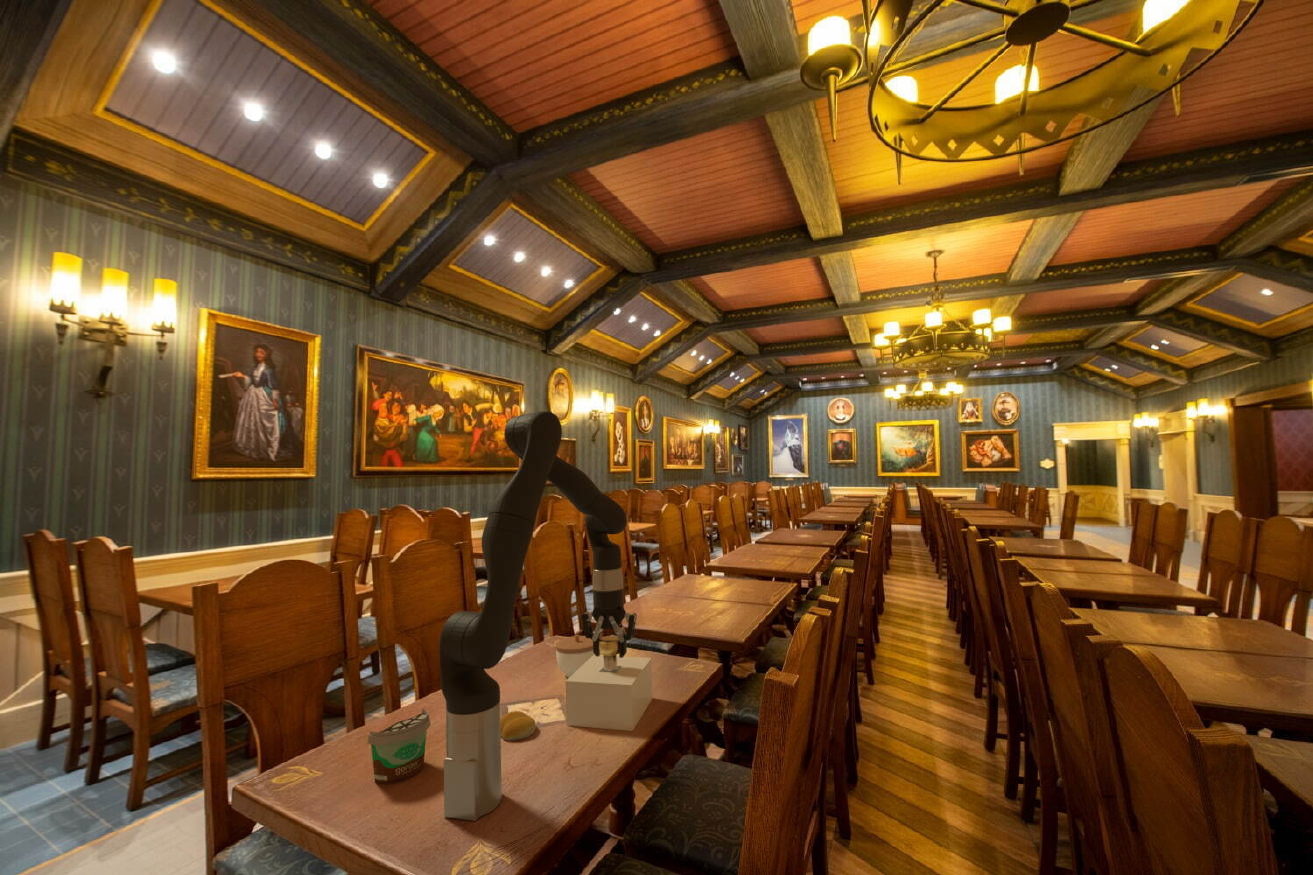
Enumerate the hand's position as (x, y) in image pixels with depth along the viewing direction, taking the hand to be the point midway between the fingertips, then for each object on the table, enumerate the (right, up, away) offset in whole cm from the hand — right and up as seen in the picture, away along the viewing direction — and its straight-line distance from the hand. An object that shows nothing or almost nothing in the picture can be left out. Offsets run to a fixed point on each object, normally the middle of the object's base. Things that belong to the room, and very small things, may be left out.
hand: (610, 655), depth 133 cm
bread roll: (-21, -14, -10) cm, 27 cm away
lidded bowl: (-11, -15, +25) cm, 31 cm away
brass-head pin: (0, -8, -1) cm, 8 cm away
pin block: (+1, -13, -1) cm, 13 cm away
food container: (-38, -13, -26) cm, 48 cm away
